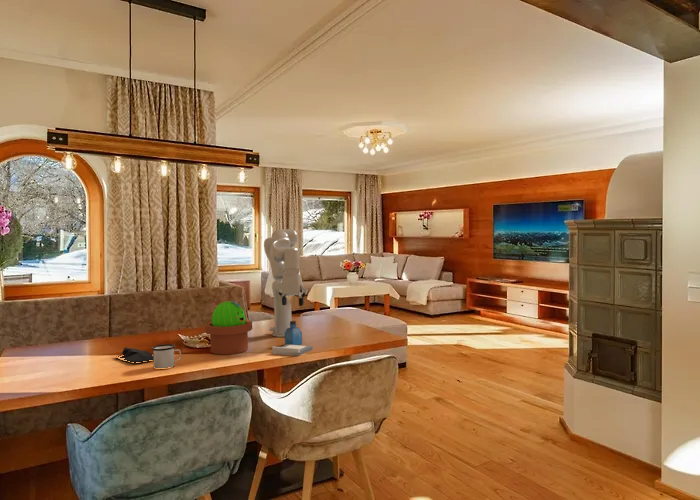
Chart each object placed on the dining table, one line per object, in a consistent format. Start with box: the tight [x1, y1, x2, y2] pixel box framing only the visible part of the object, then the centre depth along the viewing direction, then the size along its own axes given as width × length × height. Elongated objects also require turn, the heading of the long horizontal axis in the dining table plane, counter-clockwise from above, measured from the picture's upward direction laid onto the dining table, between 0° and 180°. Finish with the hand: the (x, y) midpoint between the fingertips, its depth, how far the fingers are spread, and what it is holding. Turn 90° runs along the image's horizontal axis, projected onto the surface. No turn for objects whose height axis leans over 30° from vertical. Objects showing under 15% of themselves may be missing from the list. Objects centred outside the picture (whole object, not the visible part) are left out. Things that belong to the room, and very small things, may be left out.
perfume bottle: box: [284, 320, 303, 346], centre depth 242 cm, size 6×6×12 cm
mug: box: [151, 343, 182, 368], centre depth 205 cm, size 12×10×9 cm
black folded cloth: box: [117, 347, 154, 363], centre depth 220 cm, size 15×22×5 cm
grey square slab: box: [271, 344, 313, 357], centre depth 228 cm, size 14×14×3 cm
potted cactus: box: [204, 300, 253, 356], centre depth 232 cm, size 22×22×25 cm
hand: (292, 305), depth 242 cm, fingers open, 9 cm apart
